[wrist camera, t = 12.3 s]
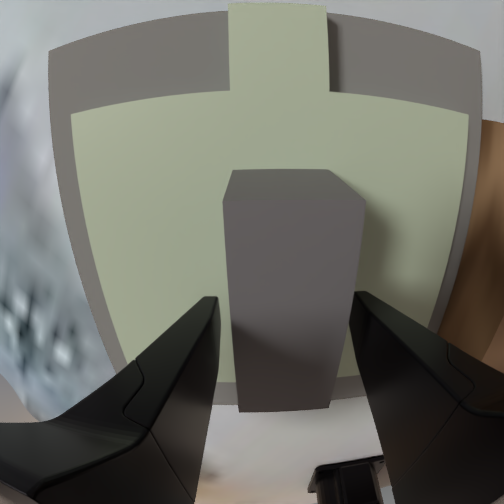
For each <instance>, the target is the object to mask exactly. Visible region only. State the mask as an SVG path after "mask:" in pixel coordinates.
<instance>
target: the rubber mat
mask: <svg viewBox="0 0 504 504" xmlns="http://www.w3.org/2000/svg"><path fill="white" fill-rule="evenodd" d="M327 30H328V52H329V92H339V93H350V94H360V95H369V96H376V97H384V98H390V99H397V100H403V101H409V102H414V103H420V104H425V105H430V106H434V107H439V108H443V109H448V110H452V111H456V112H460V113H464V114H468V115H469V119H468V139H467V152H466V162H465V171H464V179H463V186H462V193H461V200H460V206H459V211H458V217H457V222H456V227H455V232H454V237H453V241H452V246H451V250H450V254H449V258H448V262H447V266H446V270H445V273H444V277H443V280H442V284H441V287H440V291H439V294H438V297H437V300H436V304H435V307H434V310H433V313H432V316H431V319H430V321H429V324H428V327H427V329H429V330H431V331H432V332H434V333H435V334H437V332H438V330H439V327H440V324H441V322H442V319H443V316H444V313H445V310H446V307H447V305H448V302H449V298H450V295H451V292H452V289H453V286H454V283H455V279H456V276H457V272H458V269H459V265H460V261H461V257H462V253H463V249H464V245H465V241H466V237H467V232H468V227H469V223H470V217H471V212H472V207H473V201H474V195H475V188H476V181H477V173H478V164H479V155H480V142H481V125H482V76H481V59H480V51H478V50H476V49H473V48H471V47H468V46H465V45H463V44H460V43H457V42H455V41H452V40H449V39H446V38H443V37H440V36H437V35H433V34H430V33H427V32H423V31H420V30H416V29H412V28H409V27H405V26H401V25H396V24H392V23H387V22H383V21H378V20H373V19H367V18H361V17H355V16H348V15H341V14H333V13H327ZM48 81H49V108H50V122H51V133H52V143H53V151H54V159H55V166H56V173H57V179H58V185H59V191H60V196H61V202H62V207H63V212H64V216H65V221H66V225H67V230H68V234H69V238H70V242H71V246H72V250H73V254H74V257H75V261H76V265H77V268H78V271H79V275H80V278H81V281H82V285H83V288H84V291H85V294H86V297H87V300H88V303H89V306H90V309H91V312H92V315H93V317H94V320H95V323H96V326H97V328H98V331H99V333H100V336H101V339H102V341H103V344H104V346H105V349H106V351H107V353H108V356H109V358H110V361H111V363H112V365H113V367H114V370H115V372H116V374H117V373H119V372H120V371H121V370H122V369H123V368H124V367H126V366H127V365H128V364H127V361H126V358H125V356H124V353H123V351H122V348H121V345H120V342H119V340H118V337H117V334H116V331H115V328H114V325H113V322H112V319H111V316H110V313H109V310H108V307H107V304H106V300H105V297H104V294H103V290H102V287H101V283H100V280H99V276H98V272H97V269H96V265H95V261H94V257H93V253H92V249H91V245H90V240H89V236H88V231H87V227H86V222H85V217H84V212H83V206H82V201H81V195H80V189H79V183H78V177H77V170H76V162H75V154H74V145H73V136H72V124H71V114H74V113H78V112H82V111H86V110H91V109H95V108H100V107H104V106H109V105H114V104H119V103H125V102H130V101H136V100H143V99H149V98H156V97H163V96H171V95H180V94H190V93H201V92H214V91H230V74H229V31H228V11H218V12H206V13H197V14H189V15H182V16H175V17H169V18H163V19H157V20H152V21H147V22H142V23H138V24H133V25H129V26H125V27H121V28H117V29H113V30H110V31H106V32H102V33H99V34H96V35H92V36H89V37H86V38H83V39H80V40H77V41H74V42H71V43H69V44H66V45H63V46H61V47H58V48H55V49H53V50H50V51H49V60H48ZM360 396H367V395H366V392H365V389H364V385H363V382H362V379H361V376H360V375H355V376H346V377H337V378H336V382H335V386H334V390H333V393H332V397H331V400H336V399H345V398H353V397H360ZM212 405H238V398H237V388H236V382H216V388H215V393H214V398H213V404H212Z"/></svg>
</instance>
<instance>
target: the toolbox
mask: <svg viewBox="0 0 504 504" xmlns="http://www.w3.org/2000/svg"><path fill="white" fill-rule="evenodd" d="M437 335H439V336H440V337H442V338H443V339H445V340H447V341H448V343H451V344H453V345H455V346H456V347H458V348H459V349H461V350H463V351H464V352H466V353H467V354H469V355H471V356H472V357H474V358H476V359H478V360H480V361H481V362H483V363H485V364H487V365H489V366H491V367H493V368H494V369H496V370H498V371H500V372H502V373H504V123H500V122H495V121H489V120H483V119H482V125H481V142H480V155H479V164H478V173H477V181H476V188H475V195H474V201H473V207H472V212H471V217H470V223H469V227H468V232H467V237H466V241H465V245H464V249H463V253H462V257H461V261H460V265H459V269H458V272H457V276H456V279H455V283H454V286H453V289H452V292H451V295H450V298H449V302H448V305H447V307H446V310H445V313H444V316H443V319H442V322H441V324H440V327H439V330H438V332H437Z"/></svg>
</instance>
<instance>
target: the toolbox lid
mask: <svg viewBox="0 0 504 504" xmlns="http://www.w3.org/2000/svg"><path fill="white" fill-rule="evenodd" d="M228 31H229V74H230V91H214V92H201V93H190V94H180V95H171V96H163V97H156V98H149V99H143V100H136V101H130V102H125V103H119V104H114V105H109V106H104V107H100V108H95V109H91V110H86V111H82V112H78V113H74V114H71V124H72V136H73V145H74V154H75V162H76V170H77V177H78V183H79V189H80V195H81V201H82V206H83V212H84V217H85V222H86V227H87V231H88V236H89V240H90V245H91V249H92V253H93V257H94V261H95V265H96V269H97V272H98V276H99V280H100V283H101V287H102V290H103V294H104V297H105V300H106V304H107V307H108V310H109V313H110V316H111V319H112V322H113V325H114V328H115V331H116V334H117V337H118V340H119V342H120V345H121V348H122V351H123V353H124V356H125V358H126V361H127V364H129V363H130V362H131V361H132V360H135V358H136V357H137V356H138V355H139V354H140V353H141V352H142V351H143V350H145V349H146V348H147V347H148V346H149V345H150V344H151V343H152V342H153V341H155V340H156V339H157V338H158V337H159V336H160V335H161V334H162V333H163V332H165V331H166V330H167V329H168V328H169V327H170V326H171V325H172V324H173V323H175V322H176V321H177V320H178V319H179V318H180V317H181V316H182V315H183V314H185V313H186V312H187V311H188V310H189V309H190V308H191V307H192V306H193V305H195V304H196V303H197V302H198V301H199V300H200V299H201V298H202V297H204V296H217V297H218V299H219V306H220V316H221V337H220V357H219V370H218V377H217V382H236V388H237V398H238V408H239V412H280V411H298V410H311V409H323V408H329V405H330V401H331V397H332V393H333V390H334V386H335V382H336V378H337V377H346V376H355V375H360V373H359V370H358V366H357V363H356V358H355V353H354V348H353V343H352V338H351V333H350V328H349V318H350V313H351V307H352V302H353V296H354V291H367V292H369V293H371V294H372V295H374V296H375V297H377V298H379V299H380V300H382V301H384V302H385V303H387V304H389V305H390V306H392V307H394V308H395V309H397V310H398V311H400V312H402V313H403V314H405V315H407V316H408V317H410V318H411V319H413V320H415V321H416V322H418V323H419V324H421V325H423V326H424V327H426V328H427V327H428V324H429V321H430V319H431V316H432V313H433V310H434V307H435V304H436V300H437V297H438V294H439V291H440V287H441V284H442V280H443V277H444V273H445V270H446V266H447V262H448V258H449V254H450V250H451V246H452V241H453V237H454V232H455V227H456V222H457V217H458V211H459V206H460V200H461V193H462V186H463V179H464V171H465V162H466V152H467V139H468V119H469V115H468V114H464V113H460V112H456V111H452V110H448V109H443V108H439V107H434V106H430V105H425V104H420V103H414V102H409V101H403V100H397V99H390V98H384V97H376V96H369V95H360V94H350V93H339V92H329V52H328V30H327V13H326V6H320V5H308V4H293V3H232V4H228Z"/></svg>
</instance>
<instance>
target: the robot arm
mask: <svg viewBox="0 0 504 504" xmlns="http://www.w3.org/2000/svg"><path fill="white" fill-rule="evenodd" d="M349 328H350V333H351V338H352V343H353V348H354V353H355V358H356V363H357V366H358V370H359V373H360V376H361V379H362V382H363V385H364V389H365V392H366V395H367V398H368V402H369V405H370V408H371V412H372V415H373V419H374V422H375V425H376V429H377V433H378V436H379V440H380V443H381V447H382V451H383V455H384V456H381V457H376V458H372V459H366V460H361V461H356V462H350V463H343V464H337V465H329V466H321V467H318V468H316V469H315V470H314V473H313V476H312V478H311V481H310V484H309V486H308V493H317V502H318V504H384V503H383V499H382V495H381V491H380V486H379V482H378V478H377V473H378V472H379V471H380V469H381V468H382V467H383V466H384V464H385V463H386V466H387V470H388V474H389V478H390V482H391V486H392V491H393V495H394V499H395V504H504V373H502V372H500V371H498V370H496V369H494V368H493V367H491V366H489V365H487V364H485V363H483V362H481V361H480V360H478V359H476V358H474V357H472V356H471V355H469V354H467V353H466V352H464V351H463V350H461V349H459V348H458V347H456V346H455V345H453V344H451V343H448V341H447V340H445V339H443V338H442V337H440V336H439V335H437V334H435V333H434V332H432V331H431V330H429V329H427V328H426V327H424V326H423V325H421V324H419V323H418V322H416V321H415V320H413V319H411V318H410V317H408V316H407V315H405V314H403V313H402V312H400V311H398V310H397V309H395V308H394V307H392V306H390V305H389V304H387V303H385V302H384V301H382V300H380V299H379V298H377V297H375V296H374V295H372V294H371V293H369V292H367V291H354V296H353V302H352V307H351V313H350V318H349ZM220 337H221V316H220V306H219V299H218V297H217V296H204V297H202V298H201V299H200V300H199V301H198V302H197V303H196V304H195V305H193V306H192V307H191V308H190V309H189V310H188V311H187V312H186V313H185V314H183V315H182V316H181V317H180V318H179V319H178V320H177V321H176V322H175V323H173V324H172V325H171V326H170V327H169V328H168V329H167V330H166V331H165V332H163V333H162V334H161V335H160V336H159V337H158V338H157V339H156V340H155V341H153V342H152V343H151V344H150V345H149V346H148V347H147V348H146V349H145V350H143V351H142V352H141V353H140V354H139V355H138V356H137V357H136V358H135V360H132V361H131V362H130V363H129V364H128V365H127V366H126V367H124V368H123V369H122V370H121V371H120V372H119V373H117V374H116V375H115V376H114V377H113V378H111V379H110V380H109V381H107V382H106V383H105V384H103V385H102V386H101V387H99V388H98V389H97V390H95V391H94V392H93V393H91V394H90V395H88V396H87V397H86V398H84V399H83V400H81V401H80V402H79V403H77V404H76V405H74V406H73V407H72V408H70V409H69V410H67V411H66V412H64V413H63V414H61V415H60V416H58V417H56V418H54V419H51V420H48V421H44V422H34V423H0V504H194V502H195V497H196V492H197V486H198V480H199V475H200V469H201V464H202V458H203V453H204V447H205V442H206V436H207V431H208V425H209V420H210V414H211V409H212V404H213V398H214V393H215V388H216V382H217V377H218V370H219V357H220Z"/></svg>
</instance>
